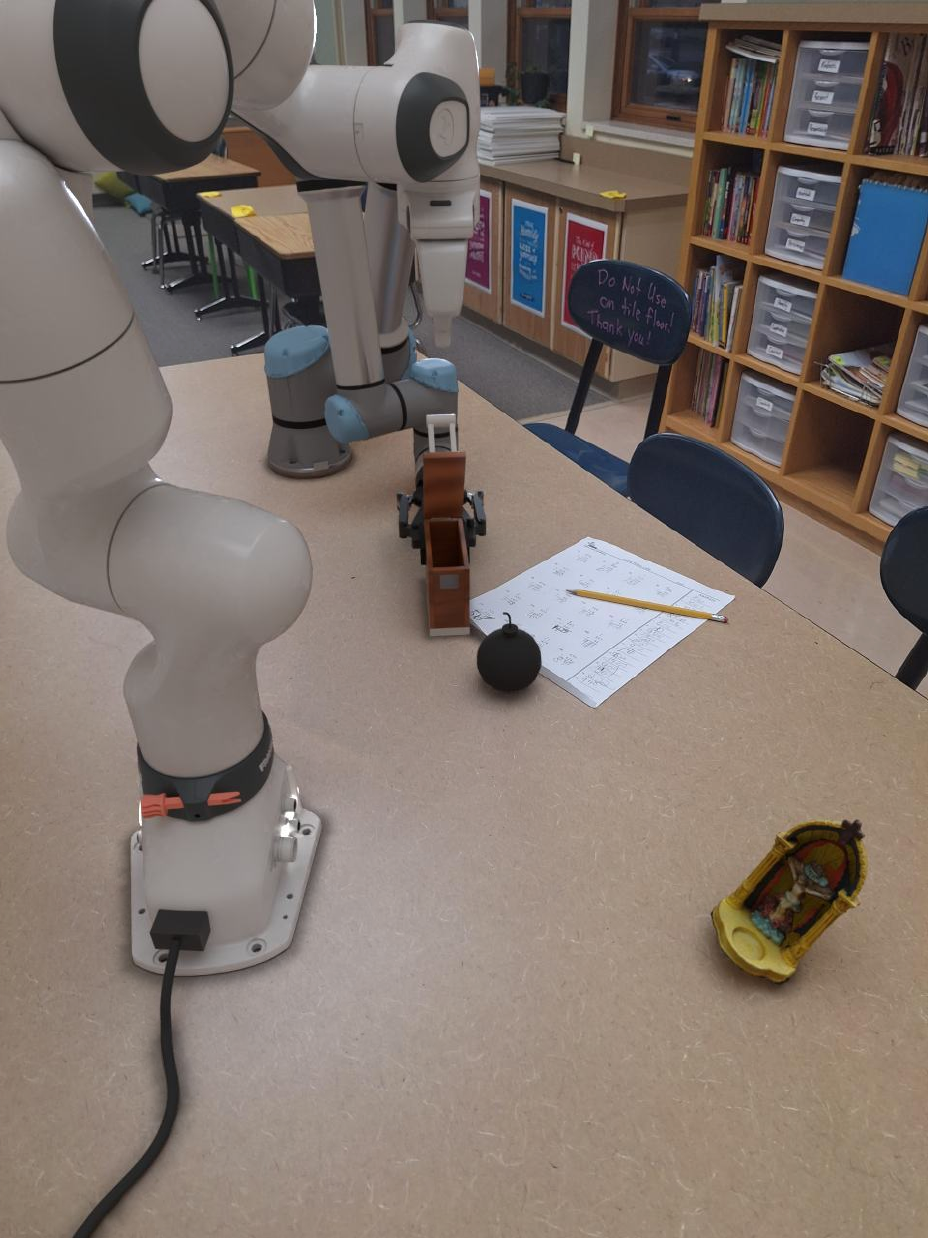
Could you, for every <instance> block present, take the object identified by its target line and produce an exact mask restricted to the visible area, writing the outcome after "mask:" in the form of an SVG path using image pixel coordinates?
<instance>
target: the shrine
mask: <svg viewBox="0 0 928 1238" xmlns="http://www.w3.org/2000/svg"><path fill="white" fill-rule="evenodd" d="M862 827H863V823H862V822H861V821H860V820H859V819H857V818H856V819H854V821H853V822H851V821H850V820H848V819H843V820H842V821H841V820H837V819H836V820H835V819H834V820H833V819H827V818H826V819H821V818H820V819H819V818H818V819H810V820H807V821H804V822H801V823H798V824H796V825H795V826H793V827H792V828H790V829H789V830H787V831H783V830H782V831H779V832H778V833H777V834H776V837H775V838H774V842H775V843H774V844H773V845H771V847H772V848H771V849H770V851H769V852H767V853H766V855H765V856H764V858H762V859H761V861H760V862H759V863H758V864H757V866H756V867H755V868H754V869H753V870H752V871H751V872H750V874H749V875H748V876H747V877H746V878H744V879H743V881H742V882H741V884H740V885H739V886H738V887H736V889H735V891H733V892H732V893H730V895H728V896H727V897H725V898H724V899H722V900H721V901H719V903H718V905H716V906H714V908H713V909H712V911H710V918H711V922H712V924H713V927H714V930H715V934H716V935H715V936H716V938H717V941H716V942H717V944H718V946H719V948H720V949H721V951H722V952H723V953H724V955H725V957H727V958H728V959H729V960H730V962H731V963H733V965H735V966H736V967H737V968H738V969H739V970H741V971H744V972H746V973H747V974H749V975H750V976H751V977H754V978H760V979H767V980H770V981H772V983H773V985H775V986H783V985H784V984H785V983H788V982H789V981H790V980H791V976H792V975H794V973H796V972H797V968H798V964H799V962H800V960H801V959H803V958H804V956H805V955H806V953H807V952H809V951H810V950H811V949H812V947H813V945H814V943H816V941H817V940H818V939H819V938H820V937H821V936H822V935H823V934H824V932H825V931H827V929H828V928H830V926H832V925H834V922H836V921H837V919H839V918H840V917H841V916H842V915H844V914H845V913H847V912H848V910H849V909H856V908H857V907H858V906H860V905H861V900H860V898H859V897H858V896H859V894H860V893H861V890H862V889H863V887H864V885H865V882H866V880H867V875H868V855H867V851H866V847H865V843H864V840H863V839H864V838H865V837H866V834H865V833H863V831H862Z"/></svg>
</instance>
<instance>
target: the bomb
mask: <svg viewBox="0 0 928 1238" xmlns="http://www.w3.org/2000/svg"><path fill="white" fill-rule="evenodd" d="M502 615H504V616H507V618H508V623H505V624H503V625H502V626H501V627H500V628H498V629H495V630H493V631H491V632H490V633H488V634H487V635H486V636H485V637H484V638H483V639H482V641H481V643H480V645H479V646H478V649H477V651H476V668H477V672H478V673H479V675H480V677H481V679H482V680H483V681H484V683H485V684H486V685H488V686H489V687H490V688H492V689H493V690H495V691H497V692H500V693H508V694H511V693H517V692H520V691H524V690H525V689H527V688H528V687H530V686H531V685H532V684H534V682H535V681H536V679H537V677H538V675H539V674H540V672H541V669H542V663H543V661H542V660H543V659H542V651H541V648H540V646H539V644H538V642H537V641H536V640H535V638H534V637H533V636H532V635H531V634H530V633H528V632H526V631H525V630H524V629H521V628H519V626H518V625H517V624H516V623H513V622H512V616H511V614H510V613H508V612H504V611H503V612H502Z"/></svg>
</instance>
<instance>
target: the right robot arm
mask: <svg viewBox="0 0 928 1238" xmlns="http://www.w3.org/2000/svg"><path fill="white" fill-rule="evenodd" d="M294 180H295V185H296V191H297V196H298V197H299V198H301V199H302V200H303V201H304V202H305V204H306V208H307V215H308V219H309V226H310V230H311V237H312V243H313V249H314V257H315V263H316V268H317V275H318V280H319V281H318V282H319V287H320V293H321V299H322V304H323V305H322V306H323V311H324V318H325V322H326V323H325V324H326V327H325V326H323V325H317V324H309V325H297V326H293V327H289V328H286V329H283V330H280V331H279V332H277V333H275V334H273V335H272V336H271V337H270V338H269V339H268V340H267V341H266V342H265V344H264V347H263V359H264V366H263V368H264V369H263V370H264V374H265V377H266V385H267V391H268V397H269V404H270V412H271V418H272V427H271V432H270V437H269V443H268V448H267V453H266V456H267V463H268V464H267V465H268V468H270V470H271V471H273V472H274V473H275V474H279V475H280V476H283V477H287V478H288V477H289V478H295V479H313V478H320V477H326V476H330V475H333V474H335V473H338V472H340V471H342V470H343V469H345V468H346V467H347V466H349V465H350V463H351V461H352V459H353V457H352V448H351V445H350V444H351V443H356V442H361V441H363V442H365V441H369V440H370V439H371V440H372V439H374V438H378V437H381V436H382V437H383V436H385V435H389V434H392V433H397V432H401V431H406V430H410V429H412V435H413V443H412V447H413V451H412V453H413V459H414V487H415V489H414V491H413V492H412V494H411V495H406V494H405V493H404V492H397V493H396V497H395V498H396V509H397V511H398V536H399V539H403V540H404V539H407V538H408V537H409V538H411V539H410V540H411V548H412V549H413V550H419V552H420V553H419V555H420V556H419V558H420V559H419V561H420V566H426V548H425V530H424V520H425V519H424V481H423V453H429V435H428V428H427V423H426V415H439V414H455V415H456V427H455V432H456V445H457V452H459V423H458V415H459V414H458V412H459V393H460V389H459V379H458V377H459V376H458V371H457V367H456V365H455V364H454V363H452V362H450V361H449V360H446V359H443V358H435V357H434V358H433V357H432V358H422V359H419V360H418V352H417V351H416V348H417V342H416V339H415V335H414V333H413V331H412V330H411V328H410V327H409V325H408V324H409V323H408V322H407V320H406V319H405V318H404V317H403V316H404V311H405V305H406V300H407V294H408V288H409V283H410V277H411V271H412V268H413V267H412V266H413V261H414V256H415V250H416V246H415V243H414V241H413V240H412V239H411V236H410V234H409V231H408V230H407V229H406V228H405V226H403V225H401V224H400V223H399V221H398V199H397V184H392V183H377V182H365V181H352V180H340V179H330V180H304V179H300V178H298V177H296V176H294ZM366 189H367V192H366V201H365V208H364V214H363V207H362V196H363V194H364V192H365V191H366ZM434 442H435V452H451V441H450V428H449V427H435V428H434ZM484 497H485V492H484V490H481V489H479V490H476V491H475V493H468V491H467V490H466V489H465V488H464V497H463V513H462V517H457V519H458V518H462V521H463V528H464V534H465V541H466V547H467V554H468V560H469V565H470V563H471V562H470V561H471V548H476V546H477V535H478V536H479V537H485V536H487V516H486V512H485V508H484V506H485V505H484V501H485V500H484V499H485V498H484ZM467 503H468V505H469V506H470V509H471V510H472V511H473V513H472V514H473V517H472V516H471V515H470V514H469V512H468V511H467V510H466V508H465V505H466V504H467ZM412 505H414V506H415V507H417V508H418V510H417V512H416V513H415V516H414V517H413V519H412V521H411V523H409V512H410V511H411V508H412ZM430 519H433V518H430Z"/></svg>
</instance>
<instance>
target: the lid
mask: <svg viewBox="0 0 928 1238" xmlns="http://www.w3.org/2000/svg"><path fill="white" fill-rule="evenodd" d="M426 423H427V428H428V435H429V453H423V481H424V519H430V518H432V519H450V518H457V517H462V513H463V507H464V505H463V497H464V489H465V478H466V462H467V453H466V451H465V450H463V451H462V450H461V451H459V452H457V445H456V432H455V427H456V415H455V414H439V415H426ZM435 427H449V428H450V441H451V452H435V442H434V428H435Z"/></svg>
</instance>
